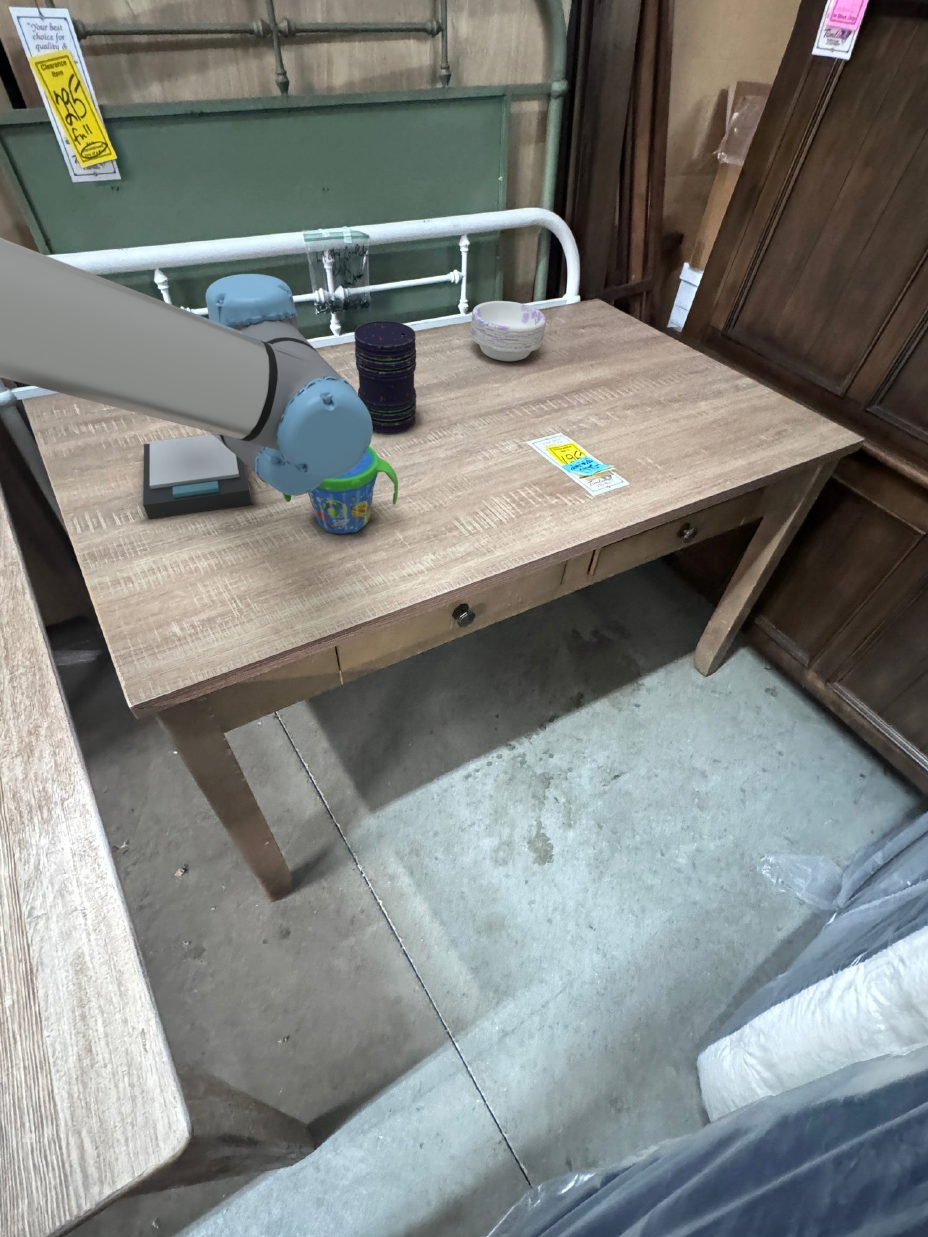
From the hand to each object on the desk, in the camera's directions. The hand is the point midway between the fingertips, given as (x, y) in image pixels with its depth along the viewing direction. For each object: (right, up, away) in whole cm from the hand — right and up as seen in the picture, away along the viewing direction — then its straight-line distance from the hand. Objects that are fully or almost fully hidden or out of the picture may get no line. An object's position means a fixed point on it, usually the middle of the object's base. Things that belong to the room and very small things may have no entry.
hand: (144, 337), depth 80 cm
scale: (+2, -16, +12) cm, 20 cm away
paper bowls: (+51, +20, +50) cm, 74 cm away
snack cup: (+25, -23, +8) cm, 34 cm away
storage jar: (+28, -2, +28) cm, 40 cm away
